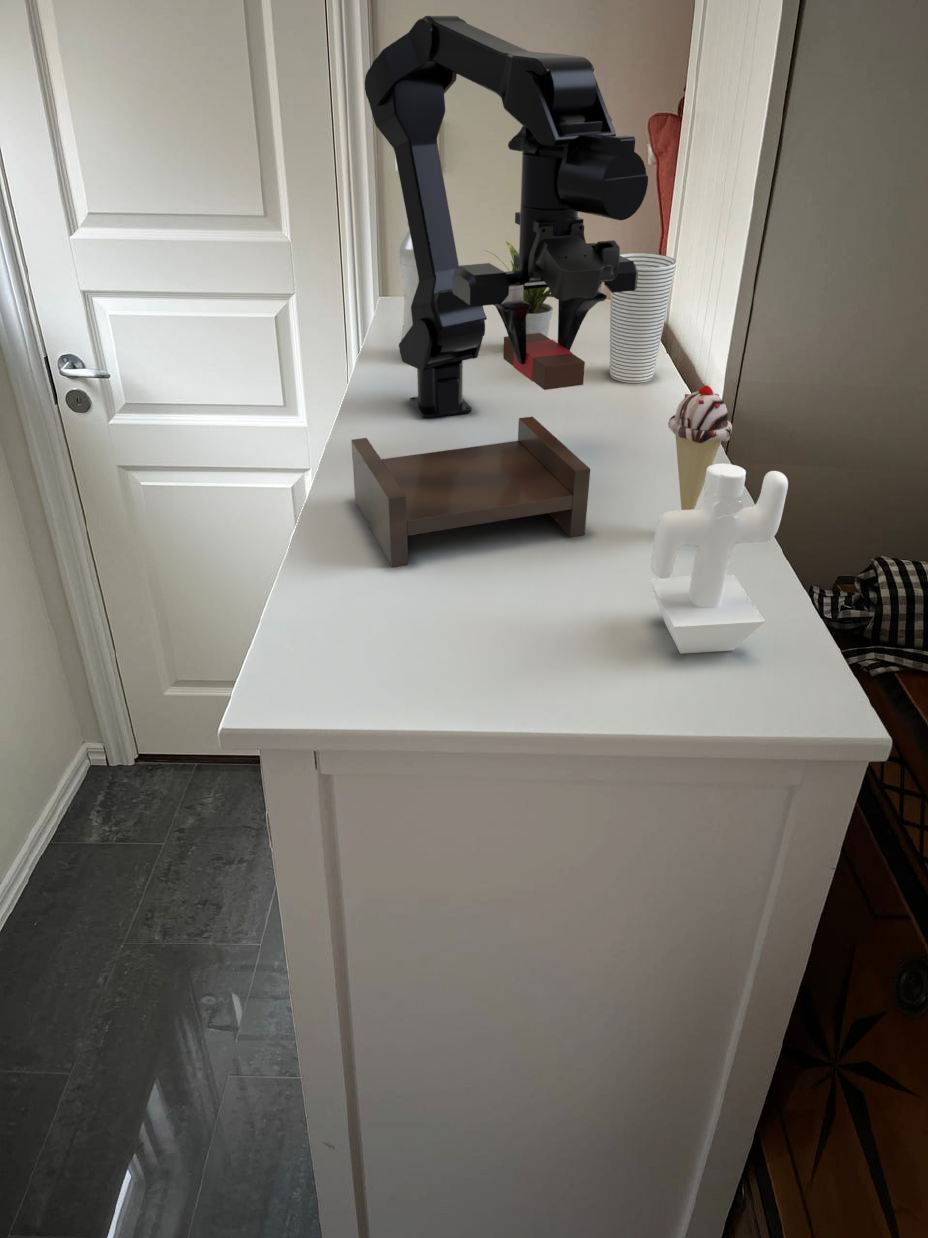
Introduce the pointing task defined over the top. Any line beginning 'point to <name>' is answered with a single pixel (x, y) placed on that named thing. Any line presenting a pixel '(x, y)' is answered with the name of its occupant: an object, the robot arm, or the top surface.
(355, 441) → the shelf
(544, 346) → the chocolate bar
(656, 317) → the cup
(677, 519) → the figurine
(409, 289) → the plastic bottle
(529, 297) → the house plant
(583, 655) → the top surface
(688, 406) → the ice cream cone
